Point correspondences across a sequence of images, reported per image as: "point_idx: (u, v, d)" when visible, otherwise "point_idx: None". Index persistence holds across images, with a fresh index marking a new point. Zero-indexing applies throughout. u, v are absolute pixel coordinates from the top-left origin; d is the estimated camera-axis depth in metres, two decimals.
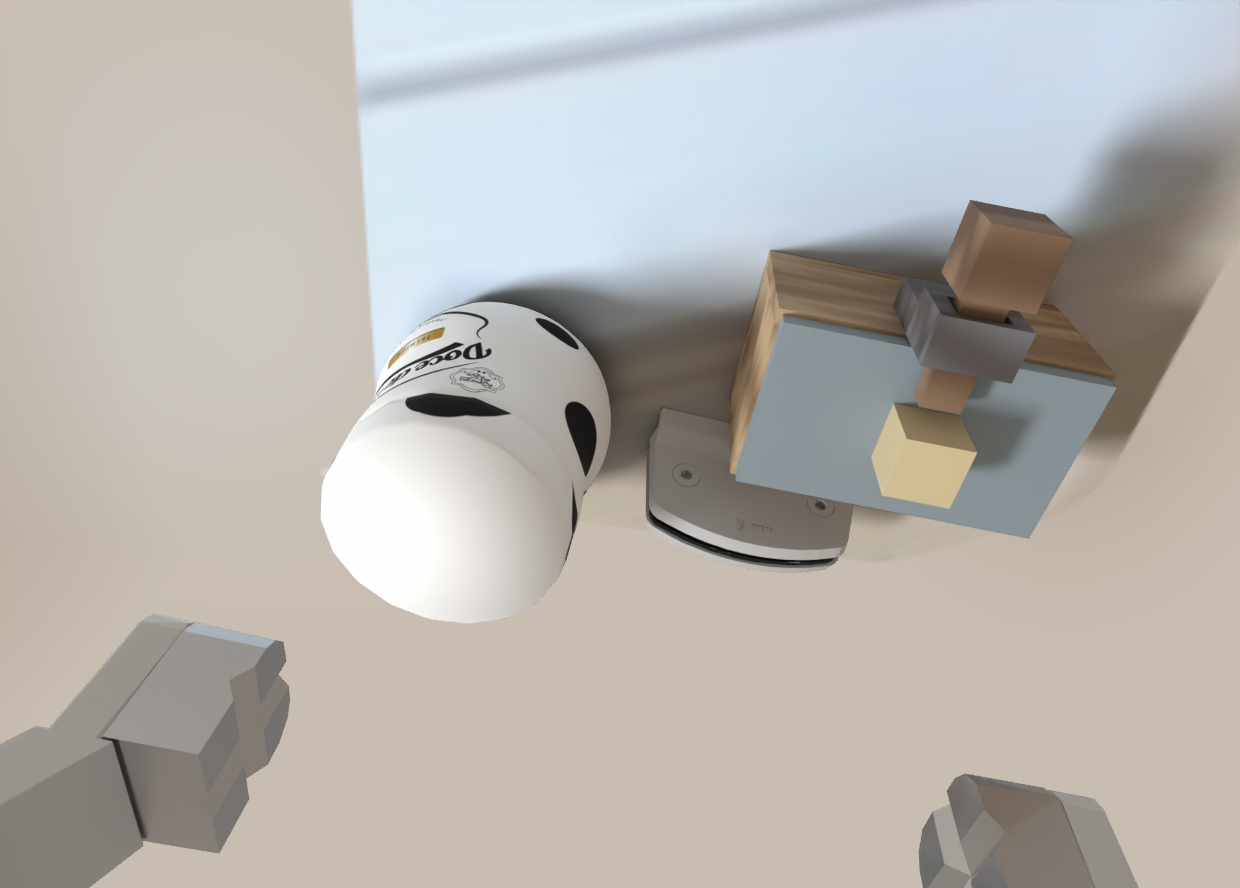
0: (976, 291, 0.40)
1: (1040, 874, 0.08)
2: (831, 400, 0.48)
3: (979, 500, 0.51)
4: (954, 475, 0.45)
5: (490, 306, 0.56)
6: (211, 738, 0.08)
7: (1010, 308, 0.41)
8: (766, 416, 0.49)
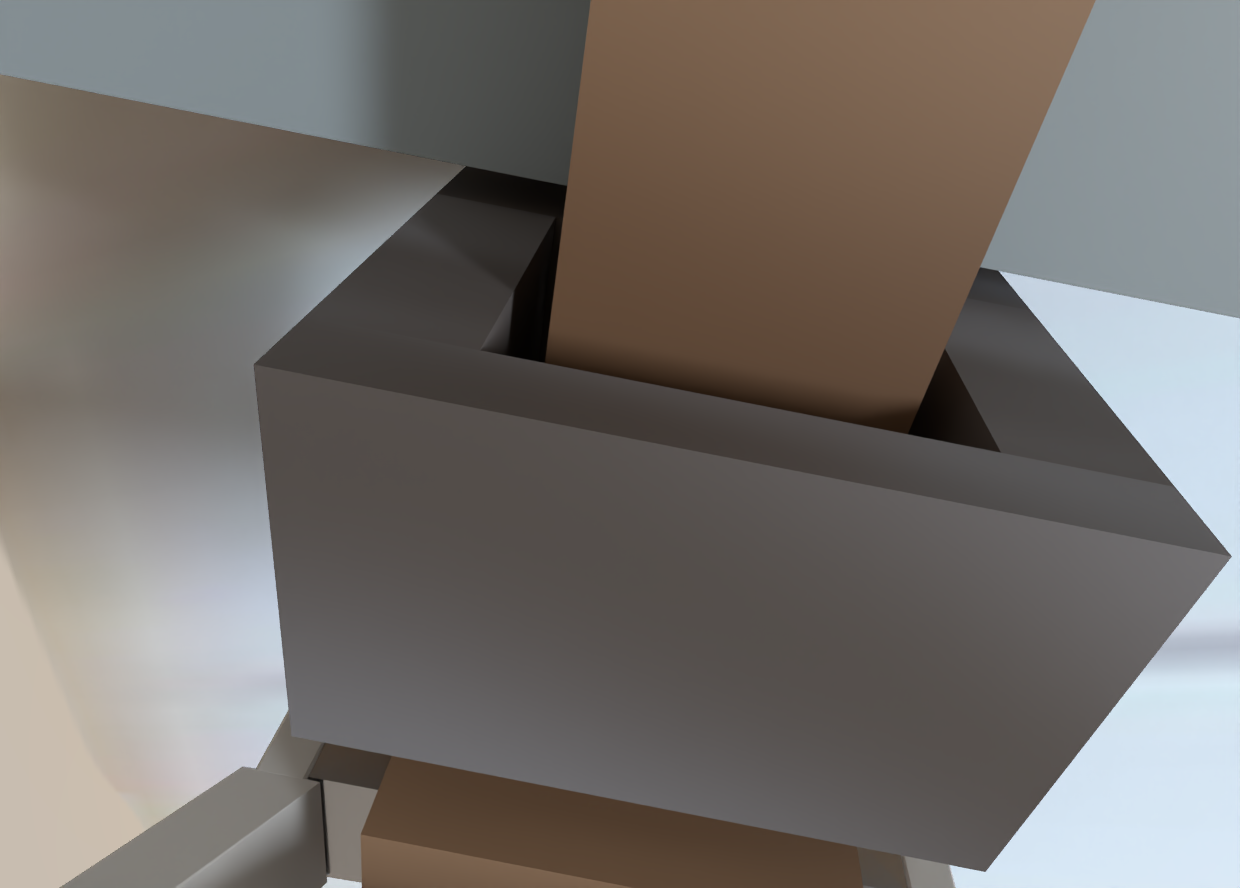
0: None
1: None
2: None
3: None
4: None
5: None
6: None
7: (532, 871, 0.06)
8: None
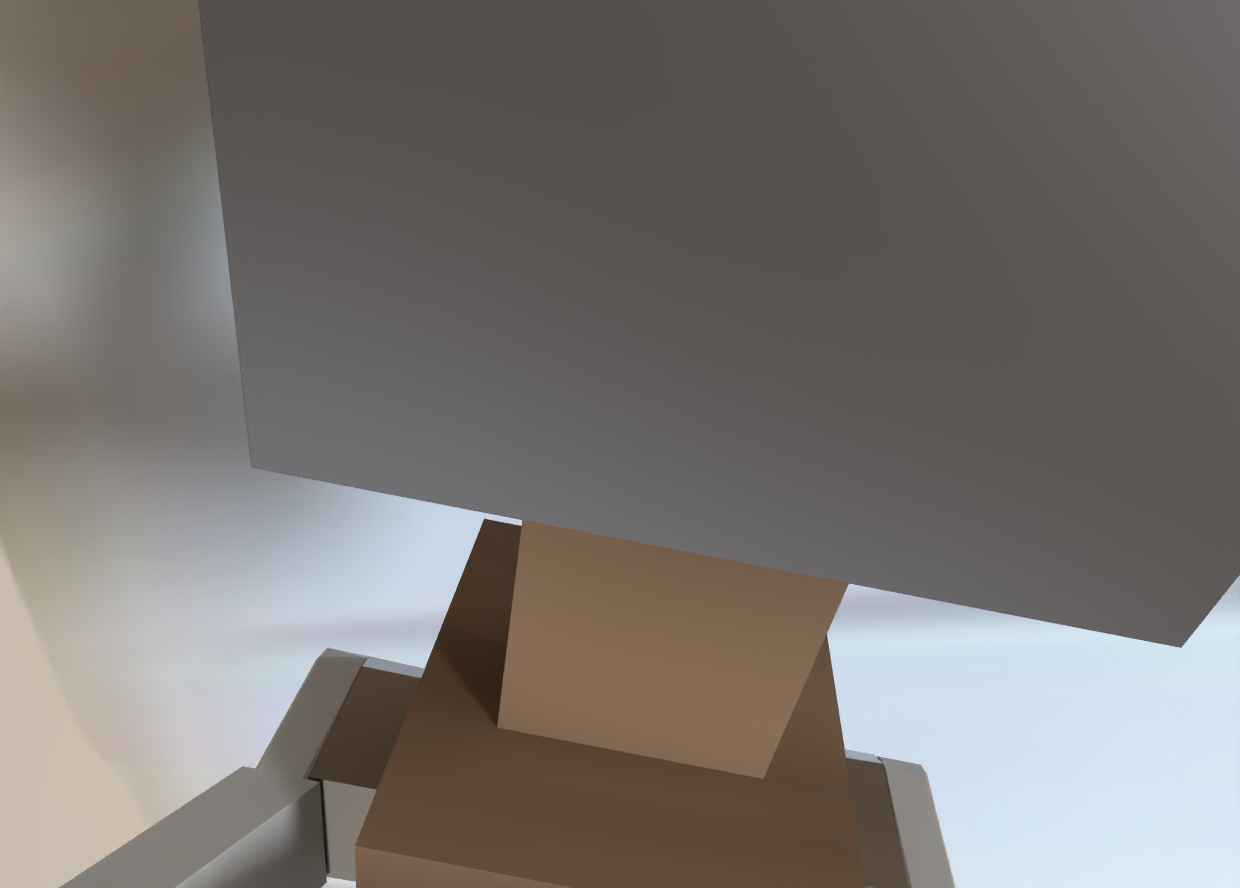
0: None
1: None
2: None
3: None
4: None
5: None
6: None
7: (530, 882, 0.06)
8: None
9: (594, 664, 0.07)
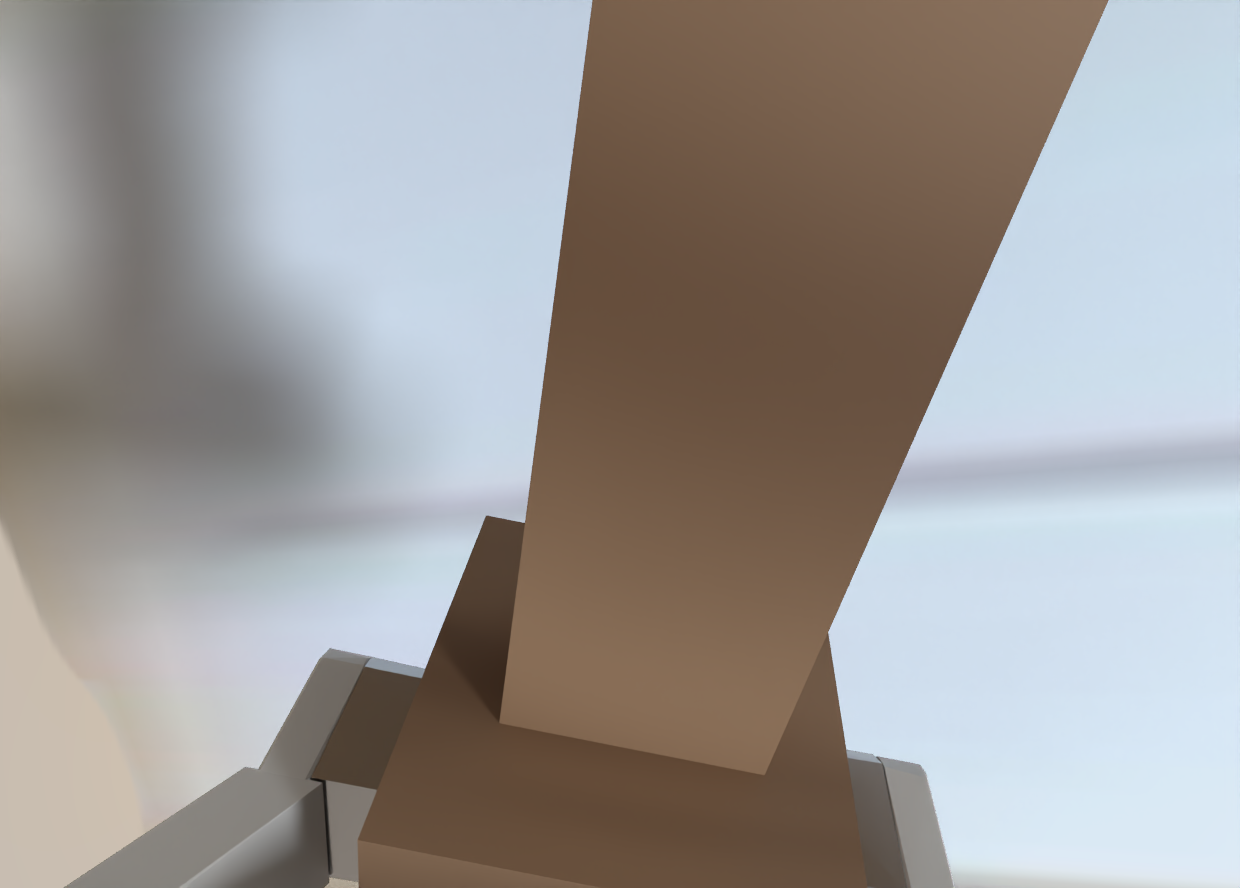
0: None
1: None
2: None
3: None
4: None
5: None
6: None
7: (532, 877, 0.06)
8: None
9: (596, 660, 0.07)
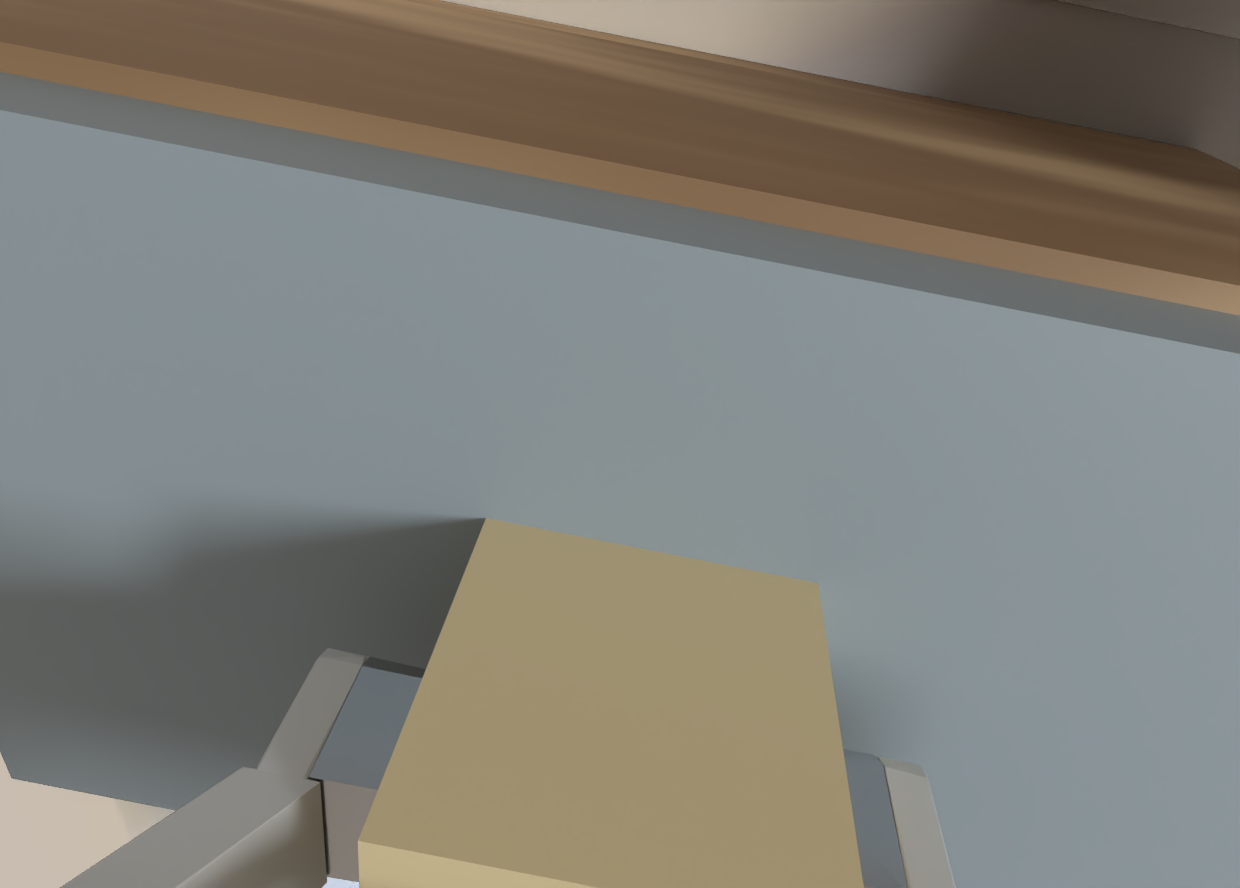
0: None
1: None
2: (995, 805, 0.11)
3: (172, 342, 0.09)
4: None
5: None
6: None
7: None
8: None
9: None
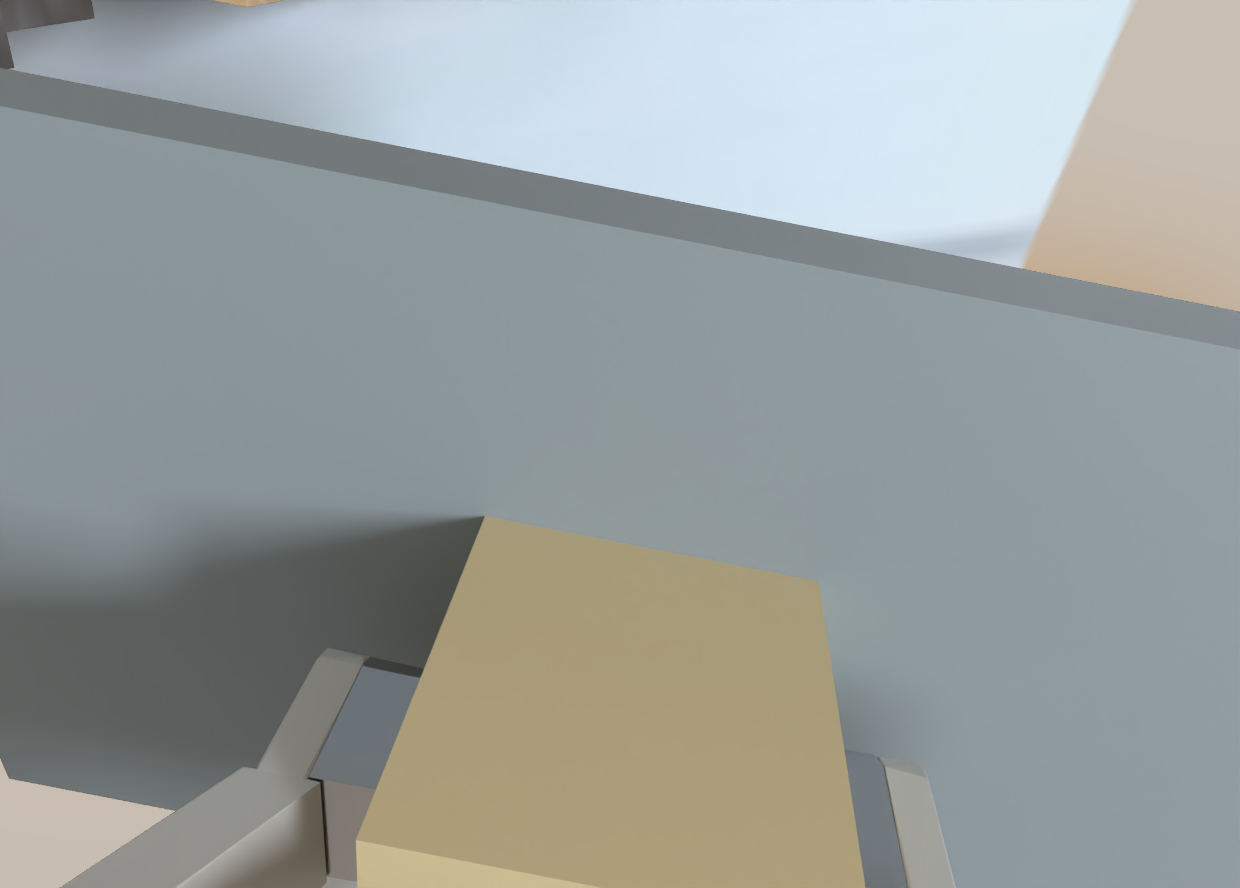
0: None
1: None
2: (996, 804, 0.11)
3: (169, 339, 0.09)
4: None
5: None
6: None
7: None
8: None
9: None
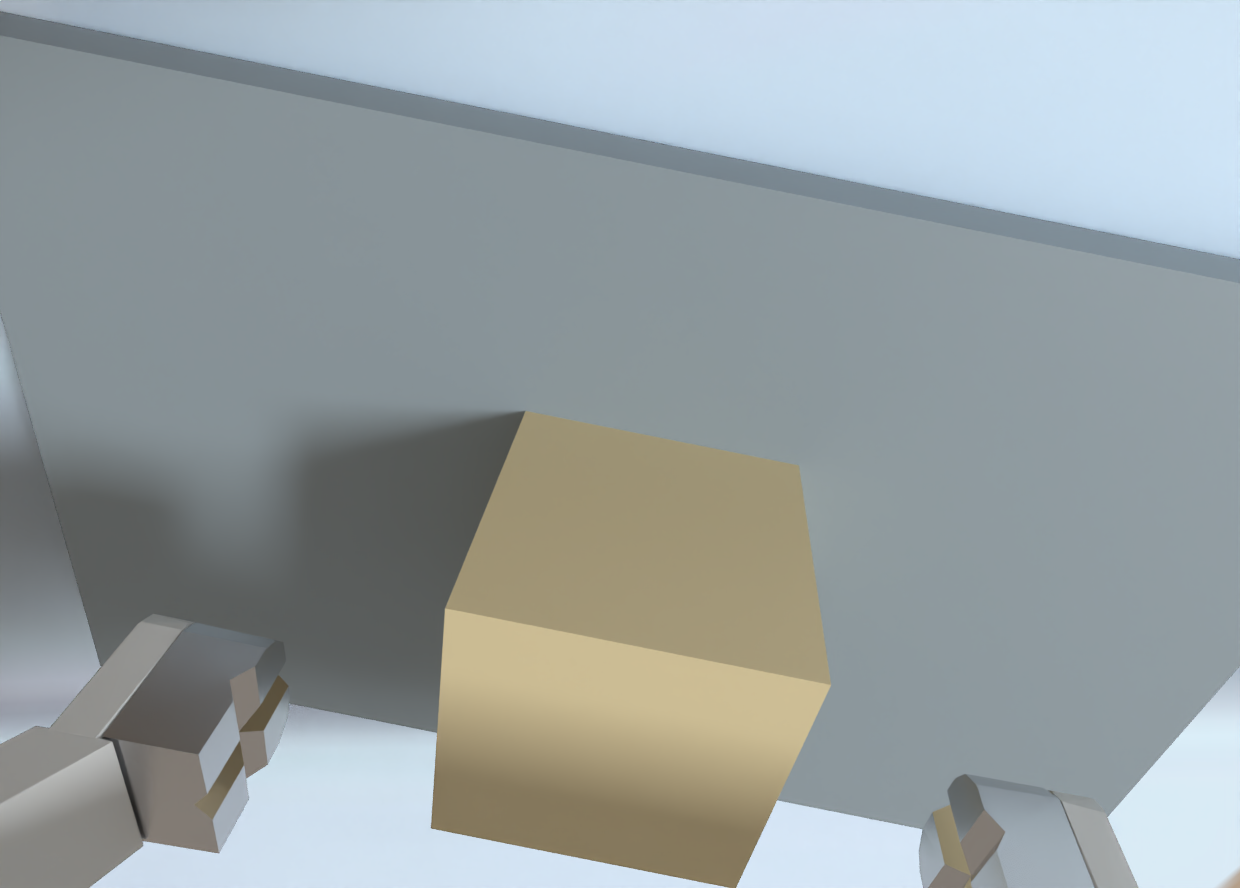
0: None
1: (1040, 874, 0.08)
2: (951, 670, 0.13)
3: (275, 259, 0.11)
4: (487, 755, 0.09)
5: None
6: (211, 738, 0.08)
7: None
8: (1221, 630, 0.12)
9: None
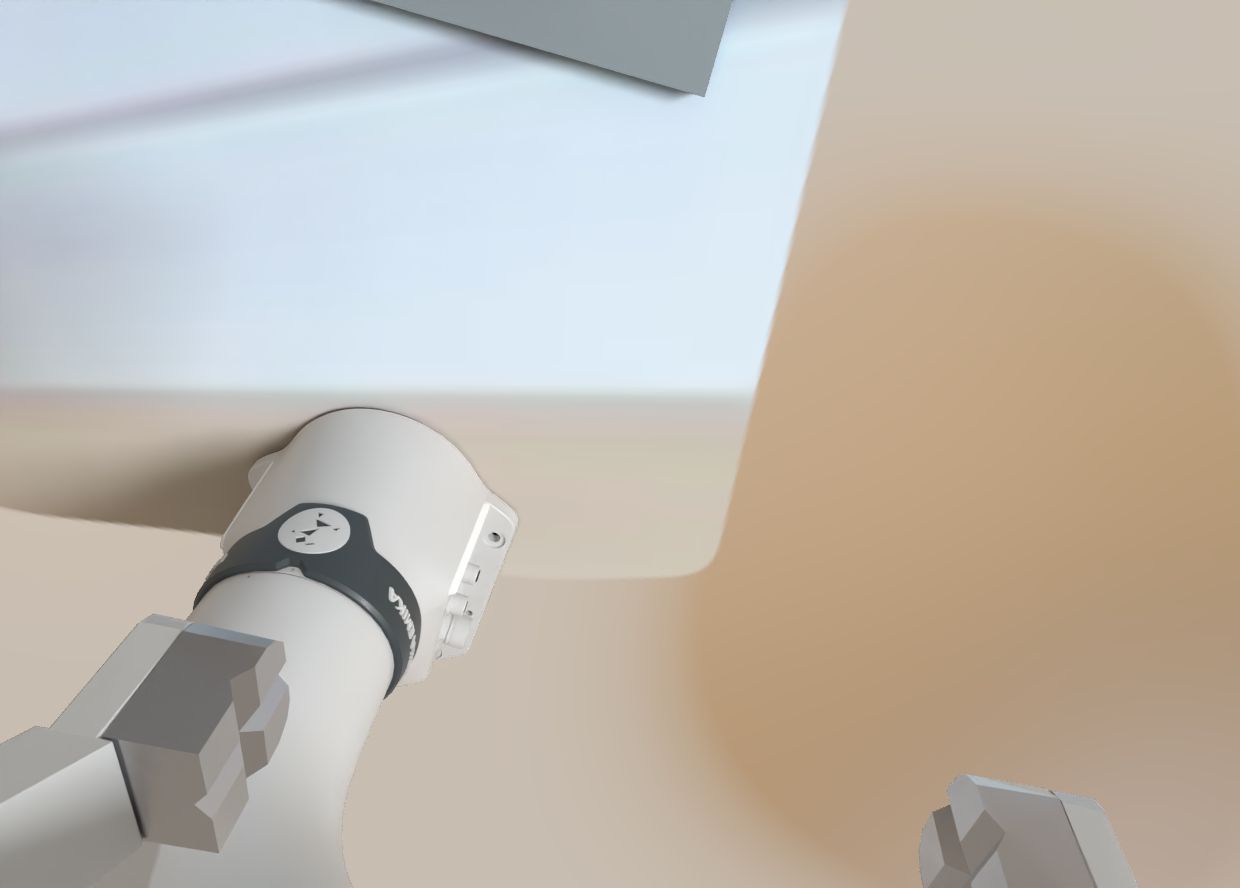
0: None
1: (1040, 874, 0.08)
2: None
3: None
4: None
5: None
6: (211, 738, 0.08)
7: None
8: None
9: None
